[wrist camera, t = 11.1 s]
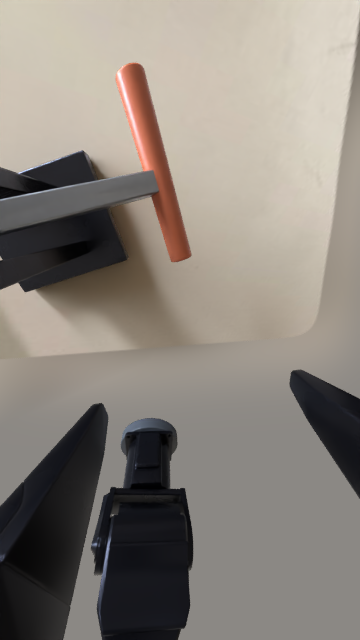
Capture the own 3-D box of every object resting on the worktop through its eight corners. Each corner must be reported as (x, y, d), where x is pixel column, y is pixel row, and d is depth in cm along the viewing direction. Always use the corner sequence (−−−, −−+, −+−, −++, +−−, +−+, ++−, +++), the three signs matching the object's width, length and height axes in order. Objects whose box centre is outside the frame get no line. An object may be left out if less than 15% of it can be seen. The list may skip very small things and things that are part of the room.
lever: (133, 90, 11) (153, 53, 9) (180, 255, 15) (200, 254, 13) (-283, 92, 6) (-455, 3, 4) (-38, 348, 10) (-57, 371, 8)
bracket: (88, 154, 15) (-166, -76, 3) (129, 257, 19) (72, 318, 7) (-29, 196, 16) (-592, 120, 4) (32, 288, 19) (-173, 393, 8)
